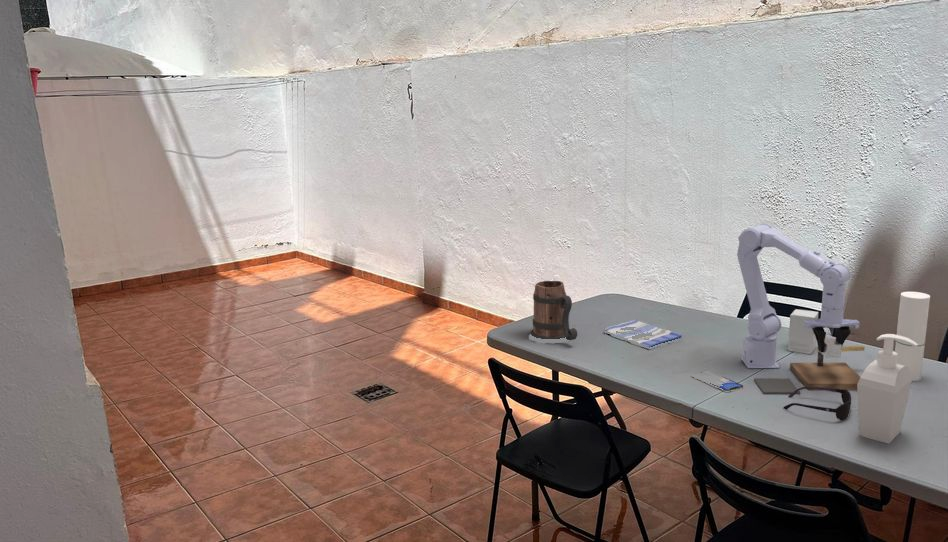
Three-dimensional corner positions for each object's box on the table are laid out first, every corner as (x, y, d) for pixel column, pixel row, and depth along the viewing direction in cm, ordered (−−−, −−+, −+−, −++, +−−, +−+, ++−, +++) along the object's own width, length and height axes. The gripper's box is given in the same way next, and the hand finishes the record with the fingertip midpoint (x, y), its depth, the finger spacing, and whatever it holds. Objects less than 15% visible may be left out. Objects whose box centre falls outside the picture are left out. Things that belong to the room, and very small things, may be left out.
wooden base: (807, 389, 199) (809, 370, 198) (789, 368, 215) (791, 350, 213) (867, 390, 197) (868, 370, 196) (844, 368, 213) (846, 349, 211)
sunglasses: (847, 425, 178) (849, 408, 177) (781, 414, 186) (782, 396, 185) (851, 405, 189) (853, 388, 188) (789, 394, 198) (790, 378, 196)
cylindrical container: (919, 373, 207) (928, 292, 201) (922, 382, 200) (931, 299, 194) (891, 370, 210) (899, 290, 204) (893, 379, 203) (902, 297, 197)
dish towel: (636, 324, 264) (636, 317, 263) (684, 341, 244) (684, 333, 244) (601, 334, 256) (601, 327, 255) (648, 352, 236) (648, 344, 235)
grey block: (825, 357, 200) (826, 344, 199) (818, 350, 205) (819, 337, 204) (840, 357, 199) (841, 344, 198) (832, 350, 205) (833, 337, 204)
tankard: (518, 334, 258) (517, 282, 253) (556, 325, 266) (555, 275, 261) (554, 353, 238) (553, 296, 233) (594, 343, 245) (594, 288, 241)
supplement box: (811, 354, 225) (814, 317, 222) (787, 350, 229) (789, 314, 226) (816, 347, 231) (819, 311, 228) (792, 344, 235) (795, 308, 232)
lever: (818, 352, 209) (819, 349, 209) (815, 350, 211) (815, 346, 211) (865, 351, 209) (865, 347, 208) (861, 348, 211) (861, 345, 211)
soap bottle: (898, 450, 165) (909, 347, 158) (852, 437, 172) (861, 338, 166) (914, 432, 173) (925, 333, 166) (870, 420, 180) (879, 325, 174)
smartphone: (707, 372, 216) (707, 369, 216) (745, 388, 203) (745, 385, 203) (688, 377, 213) (689, 374, 213) (726, 394, 200) (726, 391, 200)
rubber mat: (763, 394, 198) (763, 392, 198) (753, 380, 208) (754, 378, 208) (800, 394, 197) (800, 392, 197) (789, 380, 206) (789, 378, 206)
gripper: (811, 311, 196) (807, 356, 199) (865, 310, 194) (861, 356, 198) (802, 303, 203) (799, 347, 206) (855, 303, 201) (851, 347, 204)
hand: (829, 351), depth 202 cm, fingers closed on grey block, 4 cm apart
